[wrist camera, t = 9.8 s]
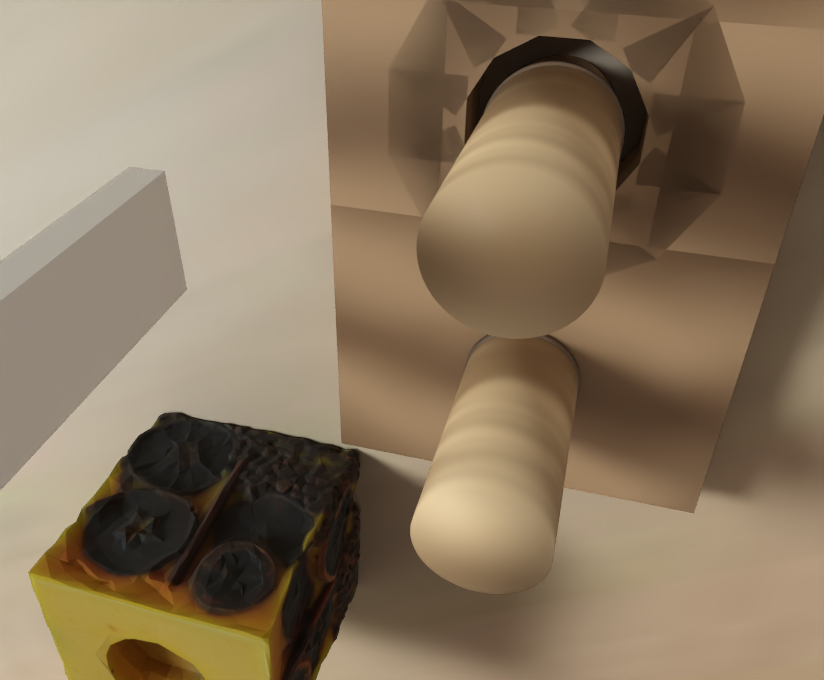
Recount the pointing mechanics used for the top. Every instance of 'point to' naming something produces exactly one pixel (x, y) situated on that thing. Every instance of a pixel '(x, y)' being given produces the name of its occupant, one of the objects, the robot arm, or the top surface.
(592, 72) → the oak leg
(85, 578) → the black and yellow cube
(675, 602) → the top surface
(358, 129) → the seat board
